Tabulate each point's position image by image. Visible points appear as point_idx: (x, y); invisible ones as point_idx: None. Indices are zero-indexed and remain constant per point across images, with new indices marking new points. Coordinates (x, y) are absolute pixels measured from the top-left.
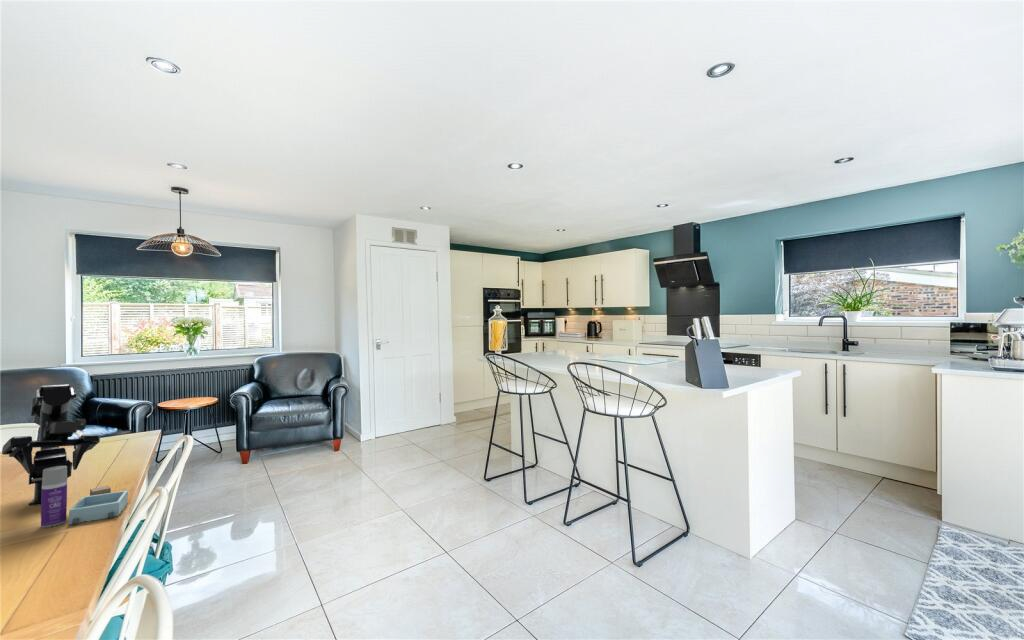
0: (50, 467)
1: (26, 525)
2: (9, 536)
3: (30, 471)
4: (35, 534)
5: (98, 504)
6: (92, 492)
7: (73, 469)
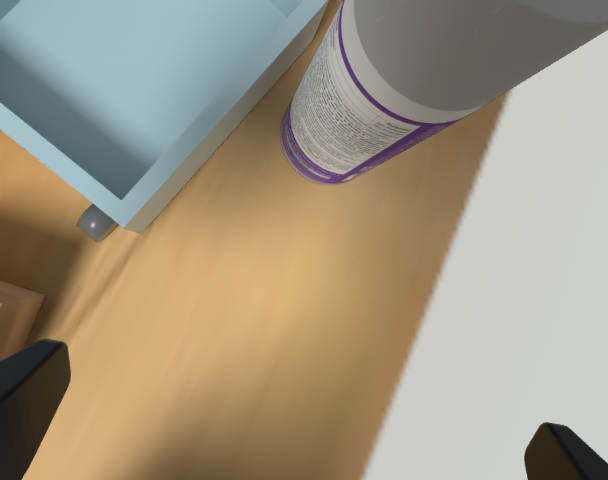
0: (575, 11)
1: (379, 265)
2: (478, 166)
3: (565, 428)
4: None
5: (94, 128)
6: (2, 313)
7: (65, 389)
